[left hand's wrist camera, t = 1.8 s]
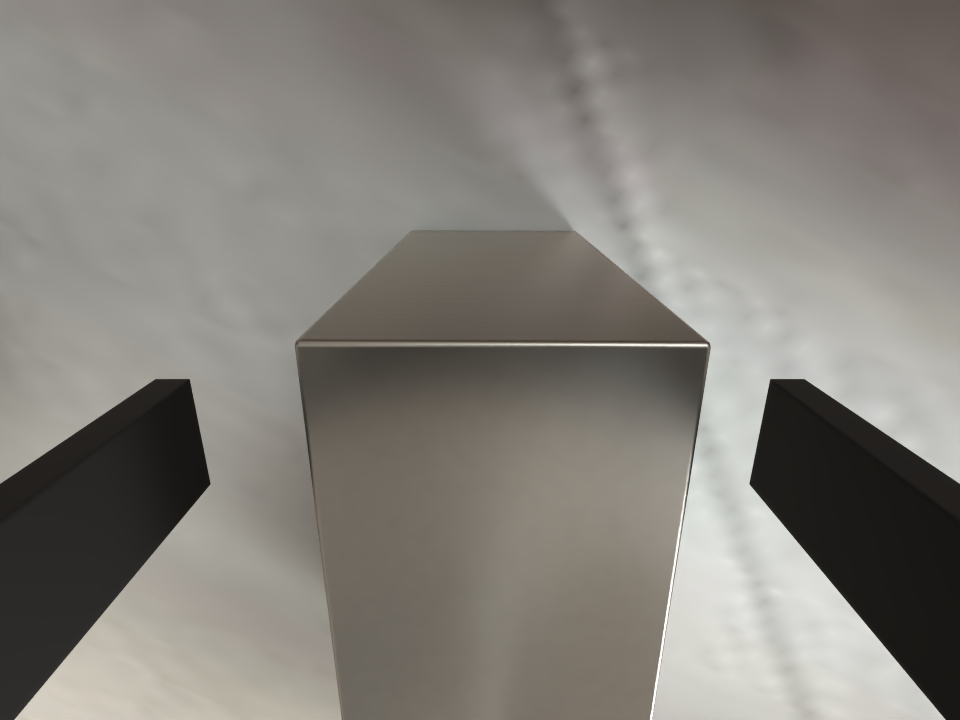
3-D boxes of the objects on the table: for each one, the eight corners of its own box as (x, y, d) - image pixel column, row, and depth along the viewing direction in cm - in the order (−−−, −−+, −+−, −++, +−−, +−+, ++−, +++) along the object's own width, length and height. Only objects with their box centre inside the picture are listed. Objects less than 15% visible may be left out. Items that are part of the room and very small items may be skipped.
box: (410, 230, 20) (292, 341, 8) (577, 230, 20) (714, 342, 8) (428, 648, 27) (381, 1040, 15) (551, 649, 27) (602, 1045, 15)
